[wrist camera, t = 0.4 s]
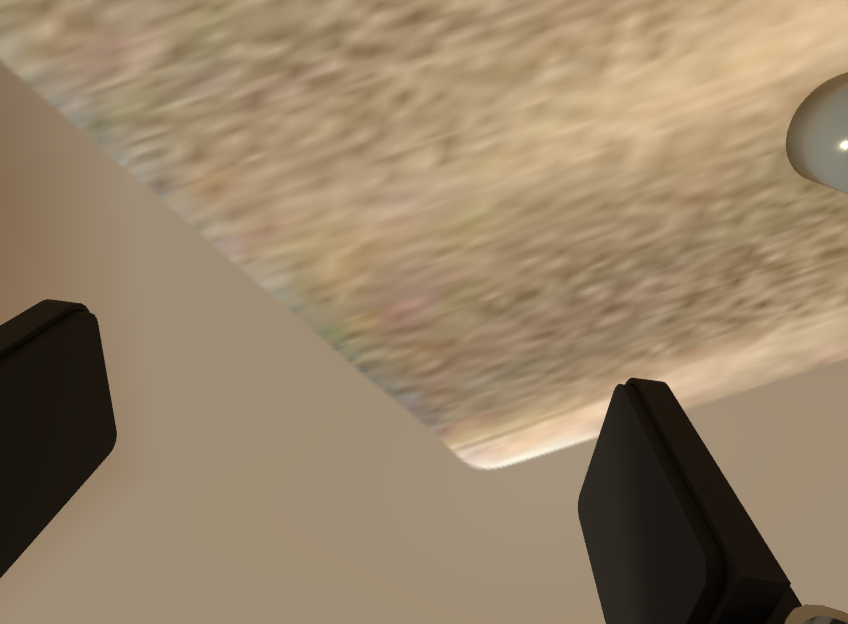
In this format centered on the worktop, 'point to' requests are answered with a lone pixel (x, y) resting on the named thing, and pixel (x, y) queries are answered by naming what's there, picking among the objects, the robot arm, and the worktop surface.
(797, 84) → the worktop surface
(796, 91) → the worktop surface
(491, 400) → the worktop surface
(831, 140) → the grey short cylinder
